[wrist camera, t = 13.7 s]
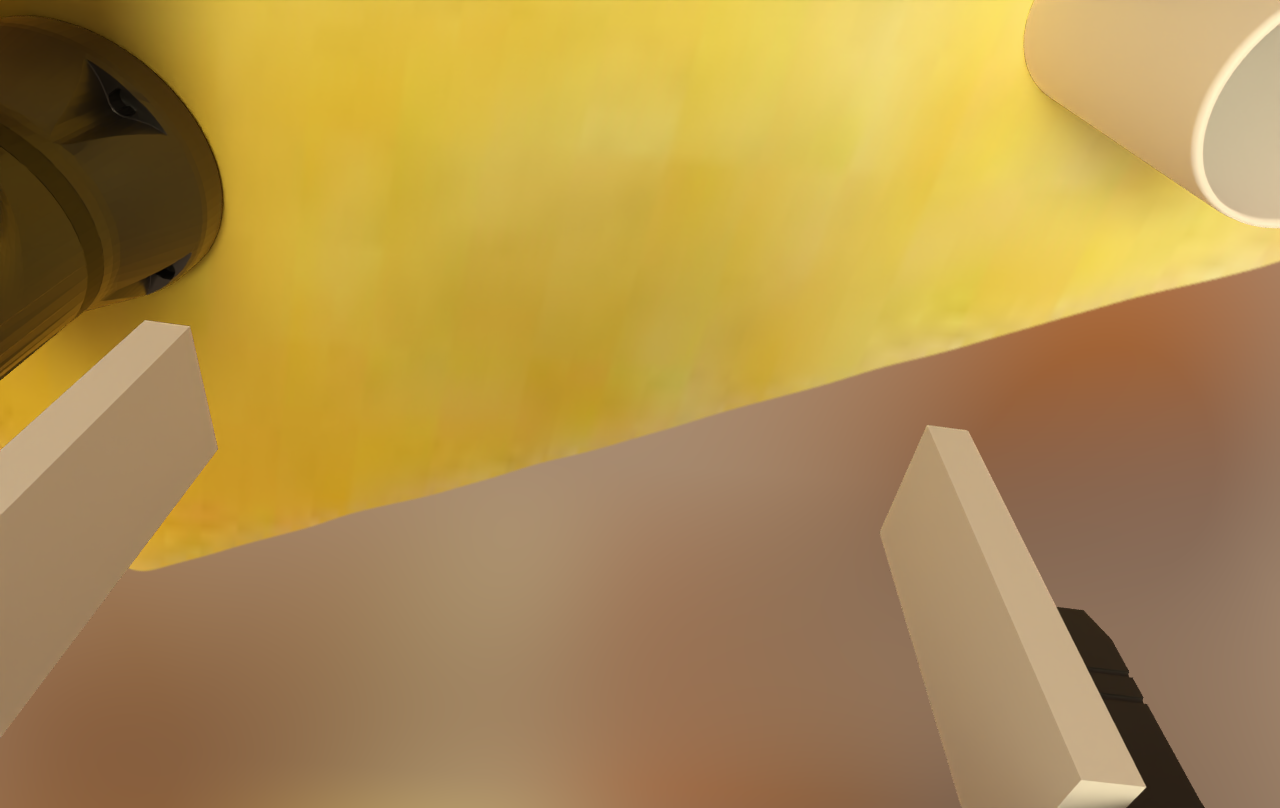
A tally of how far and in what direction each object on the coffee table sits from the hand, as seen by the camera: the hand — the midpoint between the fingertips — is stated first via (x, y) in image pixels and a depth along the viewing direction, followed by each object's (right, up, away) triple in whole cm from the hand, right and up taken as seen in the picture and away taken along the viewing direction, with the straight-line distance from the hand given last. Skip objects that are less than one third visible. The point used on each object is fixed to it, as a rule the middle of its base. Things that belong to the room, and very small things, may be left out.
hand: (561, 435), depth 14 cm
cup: (+25, +19, +24) cm, 40 cm away
